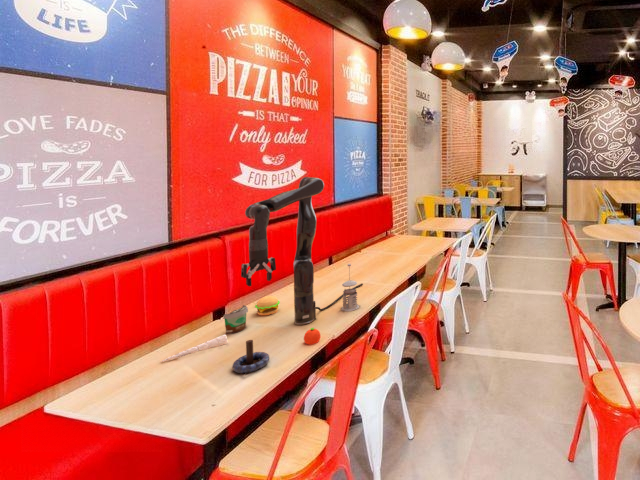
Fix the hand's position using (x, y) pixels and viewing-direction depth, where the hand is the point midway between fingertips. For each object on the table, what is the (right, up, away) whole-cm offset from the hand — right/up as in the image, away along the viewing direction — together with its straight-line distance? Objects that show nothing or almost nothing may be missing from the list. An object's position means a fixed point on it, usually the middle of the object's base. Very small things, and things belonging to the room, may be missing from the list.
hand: (259, 283), depth 175 cm
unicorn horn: (-23, -29, -7) cm, 38 cm away
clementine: (+24, -28, 0) cm, 37 cm away
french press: (+27, -27, +40) cm, 56 cm away
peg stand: (+8, -28, -21) cm, 36 cm away
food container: (-19, -29, +16) cm, 38 cm away
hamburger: (-17, -28, +37) cm, 50 cm away
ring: (+9, -25, -20) cm, 34 cm away
